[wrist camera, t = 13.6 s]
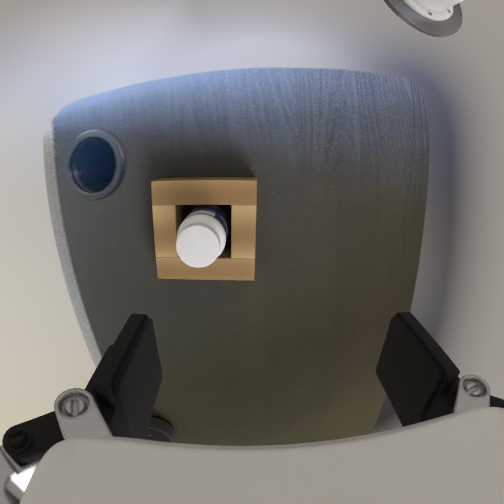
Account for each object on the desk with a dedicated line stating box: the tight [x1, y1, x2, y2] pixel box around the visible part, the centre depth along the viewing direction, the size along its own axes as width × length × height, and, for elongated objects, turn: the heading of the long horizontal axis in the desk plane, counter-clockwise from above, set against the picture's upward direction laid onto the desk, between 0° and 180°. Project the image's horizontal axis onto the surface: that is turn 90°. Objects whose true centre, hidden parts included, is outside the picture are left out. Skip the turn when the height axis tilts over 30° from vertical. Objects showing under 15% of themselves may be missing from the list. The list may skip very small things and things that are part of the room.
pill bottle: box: [176, 205, 229, 268], centre depth 35 cm, size 6×6×10 cm
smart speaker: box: [145, 417, 175, 443], centre depth 53 cm, size 9×9×4 cm
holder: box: [151, 177, 257, 280], centre depth 38 cm, size 13×13×4 cm
